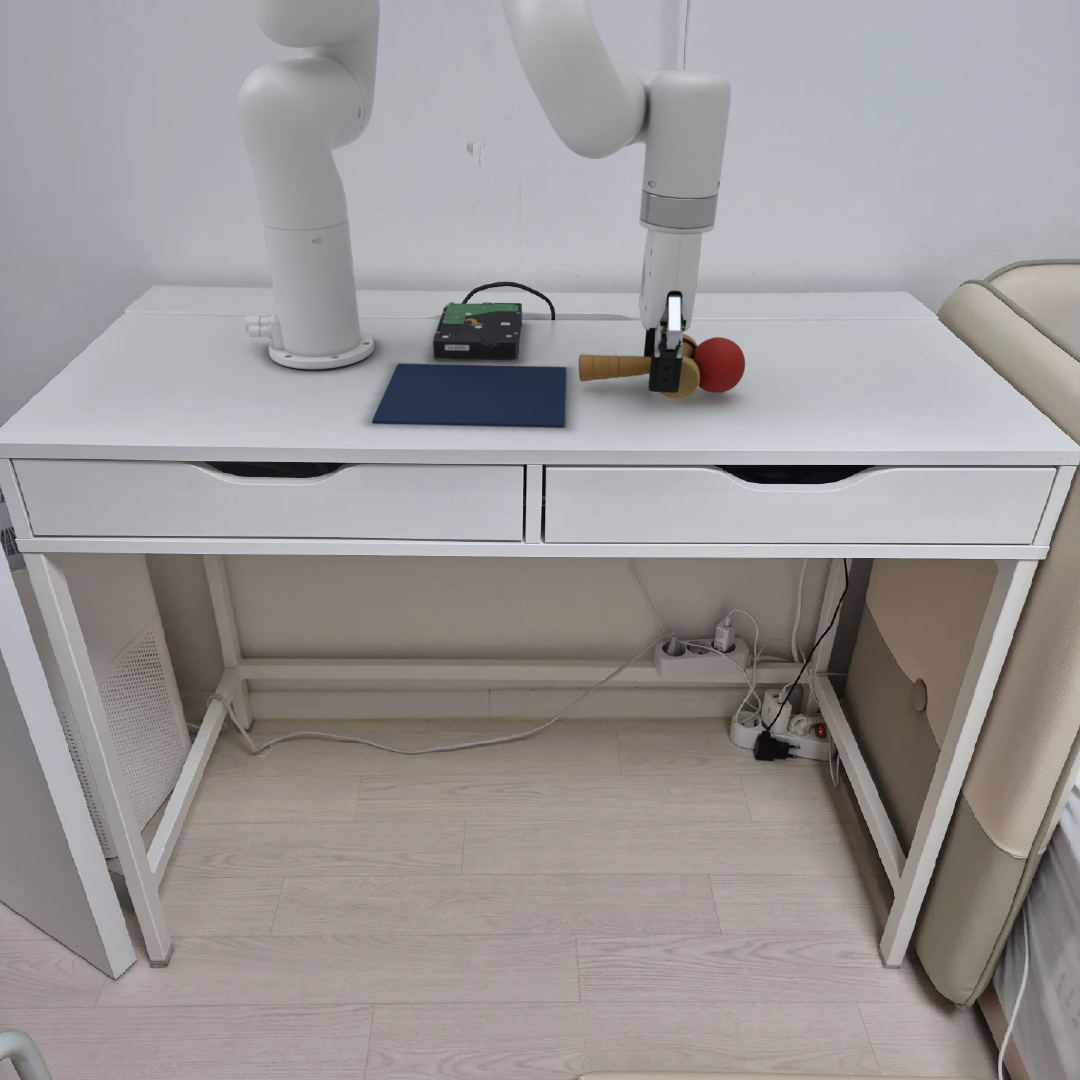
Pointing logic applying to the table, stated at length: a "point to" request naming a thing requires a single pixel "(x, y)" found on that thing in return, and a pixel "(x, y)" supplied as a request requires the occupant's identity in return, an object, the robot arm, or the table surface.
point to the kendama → (702, 365)
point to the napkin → (474, 395)
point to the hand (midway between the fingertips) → (660, 375)
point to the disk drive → (479, 332)
